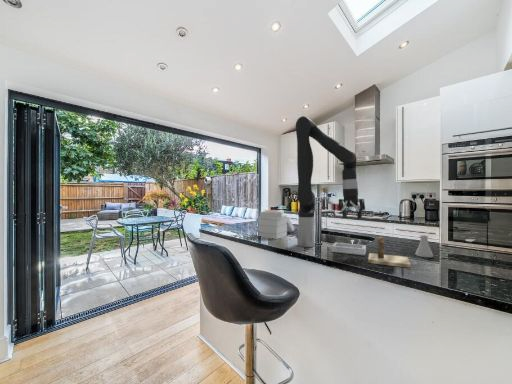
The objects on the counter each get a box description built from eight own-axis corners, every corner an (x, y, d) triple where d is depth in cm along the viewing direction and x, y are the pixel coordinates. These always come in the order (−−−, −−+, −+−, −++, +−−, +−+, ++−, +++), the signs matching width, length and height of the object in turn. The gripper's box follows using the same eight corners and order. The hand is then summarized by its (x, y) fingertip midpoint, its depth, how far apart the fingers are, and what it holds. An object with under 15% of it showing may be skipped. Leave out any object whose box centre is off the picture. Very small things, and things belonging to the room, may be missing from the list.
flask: (425, 258, 112) (425, 237, 112) (411, 254, 119) (411, 234, 119) (437, 257, 114) (437, 236, 114) (422, 253, 121) (422, 234, 121)
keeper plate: (368, 262, 107) (368, 238, 107) (369, 256, 117) (369, 233, 117) (410, 267, 99) (410, 241, 99) (407, 260, 110) (407, 236, 110)
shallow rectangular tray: (331, 251, 126) (331, 246, 126) (335, 247, 135) (335, 242, 135) (364, 255, 118) (364, 249, 118) (366, 250, 127) (366, 245, 127)
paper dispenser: (296, 232, 181) (296, 209, 181) (277, 240, 156) (277, 212, 156) (275, 230, 192) (275, 208, 192) (254, 236, 167) (253, 211, 167)
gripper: (334, 189, 130) (336, 218, 130) (358, 187, 119) (360, 219, 119) (343, 188, 135) (344, 216, 135) (366, 186, 123) (368, 218, 123)
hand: (352, 218), depth 127 cm, fingers open, 8 cm apart
